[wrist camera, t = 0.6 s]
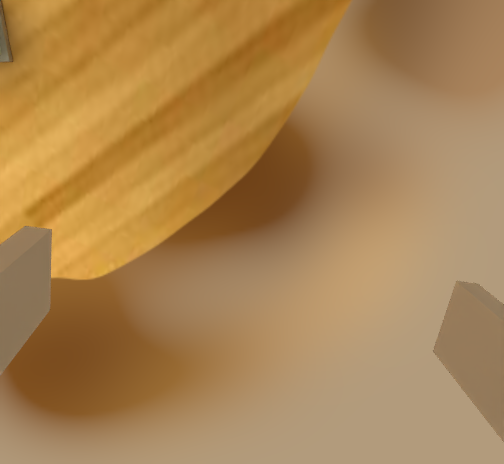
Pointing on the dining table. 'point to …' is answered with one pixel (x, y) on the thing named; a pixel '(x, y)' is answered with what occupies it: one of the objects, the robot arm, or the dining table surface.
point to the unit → (4, 40)
